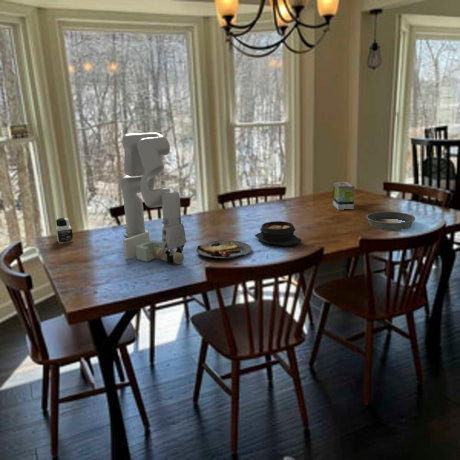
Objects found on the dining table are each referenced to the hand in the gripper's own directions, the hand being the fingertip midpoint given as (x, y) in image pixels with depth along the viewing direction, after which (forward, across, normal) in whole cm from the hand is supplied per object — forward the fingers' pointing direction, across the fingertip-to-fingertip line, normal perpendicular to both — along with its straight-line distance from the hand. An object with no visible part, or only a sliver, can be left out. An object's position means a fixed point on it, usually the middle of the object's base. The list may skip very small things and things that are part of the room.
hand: (175, 261), depth 193 cm
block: (+1, 0, +15) cm, 15 cm away
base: (+1, 0, +23) cm, 23 cm away
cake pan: (+2, +104, -58) cm, 119 cm away
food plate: (+2, +23, -9) cm, 25 cm away
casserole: (+1, +49, -22) cm, 54 cm away
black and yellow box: (+2, -5, +73) cm, 73 cm away
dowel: (+1, 0, +4) cm, 4 cm away
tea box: (+2, +129, -21) cm, 130 cm away
